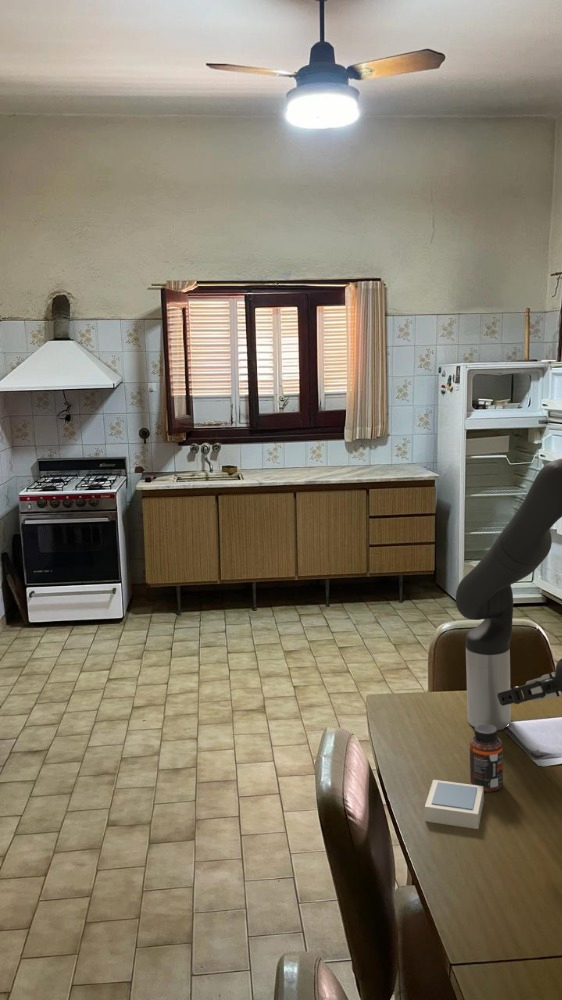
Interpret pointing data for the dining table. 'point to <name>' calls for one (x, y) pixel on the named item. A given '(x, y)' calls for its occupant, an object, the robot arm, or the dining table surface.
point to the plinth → (454, 804)
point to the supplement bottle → (486, 758)
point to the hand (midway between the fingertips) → (514, 694)
